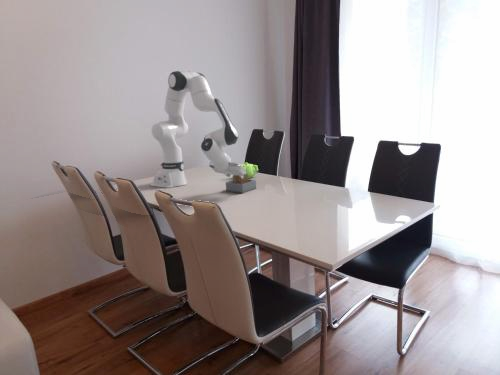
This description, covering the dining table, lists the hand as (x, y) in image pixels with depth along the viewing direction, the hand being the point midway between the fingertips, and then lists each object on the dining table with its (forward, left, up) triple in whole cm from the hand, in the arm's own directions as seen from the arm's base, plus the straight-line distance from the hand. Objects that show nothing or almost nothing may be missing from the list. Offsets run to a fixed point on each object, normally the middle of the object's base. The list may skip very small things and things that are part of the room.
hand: (235, 176), depth 226 cm
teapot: (-6, +35, -9) cm, 36 cm away
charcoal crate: (+1, +4, -8) cm, 9 cm away
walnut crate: (+1, +4, -8) cm, 9 cm away
